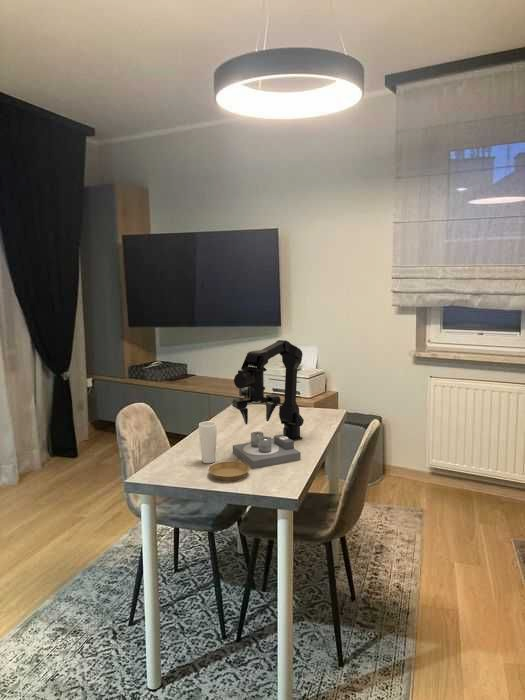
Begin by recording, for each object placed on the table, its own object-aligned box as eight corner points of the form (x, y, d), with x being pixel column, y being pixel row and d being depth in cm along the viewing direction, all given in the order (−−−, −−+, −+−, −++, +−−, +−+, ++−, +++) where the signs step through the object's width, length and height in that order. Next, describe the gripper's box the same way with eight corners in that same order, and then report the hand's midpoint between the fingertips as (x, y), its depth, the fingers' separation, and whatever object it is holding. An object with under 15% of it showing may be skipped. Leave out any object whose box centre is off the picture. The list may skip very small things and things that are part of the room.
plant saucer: (230, 464, 200) (230, 458, 199) (258, 474, 190) (258, 467, 189) (200, 475, 189) (199, 468, 189) (227, 487, 179) (227, 479, 179)
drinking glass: (214, 465, 199) (213, 426, 197) (197, 464, 200) (196, 425, 198) (219, 458, 206) (218, 421, 203) (203, 457, 207) (201, 420, 205)
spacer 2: (273, 451, 202) (273, 439, 202) (262, 453, 200) (262, 441, 199) (267, 448, 207) (267, 435, 206) (256, 450, 204) (256, 437, 204)
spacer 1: (265, 446, 208) (265, 434, 208) (254, 448, 206) (254, 436, 206) (260, 442, 213) (260, 430, 212) (249, 444, 211) (248, 432, 210)
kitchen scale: (276, 444, 221) (276, 430, 220) (300, 459, 203) (300, 443, 202) (232, 452, 212) (232, 437, 212) (253, 468, 195) (253, 452, 194)
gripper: (268, 377, 217) (269, 414, 219) (226, 382, 209) (227, 420, 211) (281, 382, 207) (281, 421, 209) (237, 387, 199) (238, 427, 201)
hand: (256, 422), depth 208 cm, fingers open, 9 cm apart
